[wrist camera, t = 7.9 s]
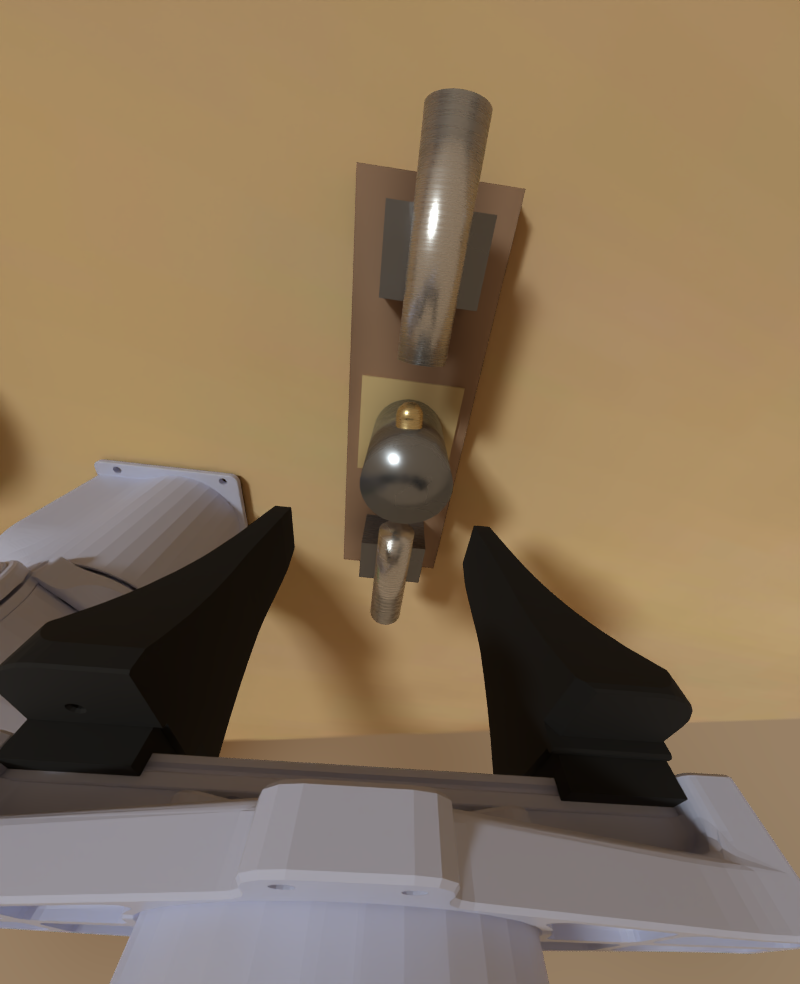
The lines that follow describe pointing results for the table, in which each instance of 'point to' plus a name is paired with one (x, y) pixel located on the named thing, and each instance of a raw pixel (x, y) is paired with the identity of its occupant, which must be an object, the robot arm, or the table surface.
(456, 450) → the shaft board
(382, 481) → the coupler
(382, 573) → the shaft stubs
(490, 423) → the table surface
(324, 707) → the table surface
